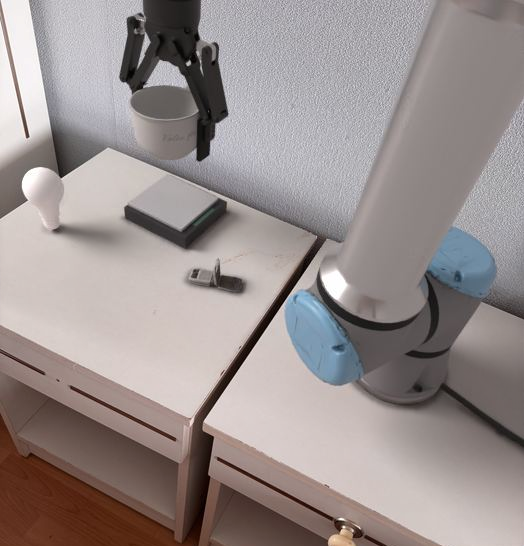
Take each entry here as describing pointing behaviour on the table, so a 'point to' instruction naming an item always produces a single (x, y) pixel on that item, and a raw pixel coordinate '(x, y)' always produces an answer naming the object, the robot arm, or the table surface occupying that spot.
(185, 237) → the scale
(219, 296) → the table surface
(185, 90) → the teacup
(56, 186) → the lightbulb
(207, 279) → the strap clip
